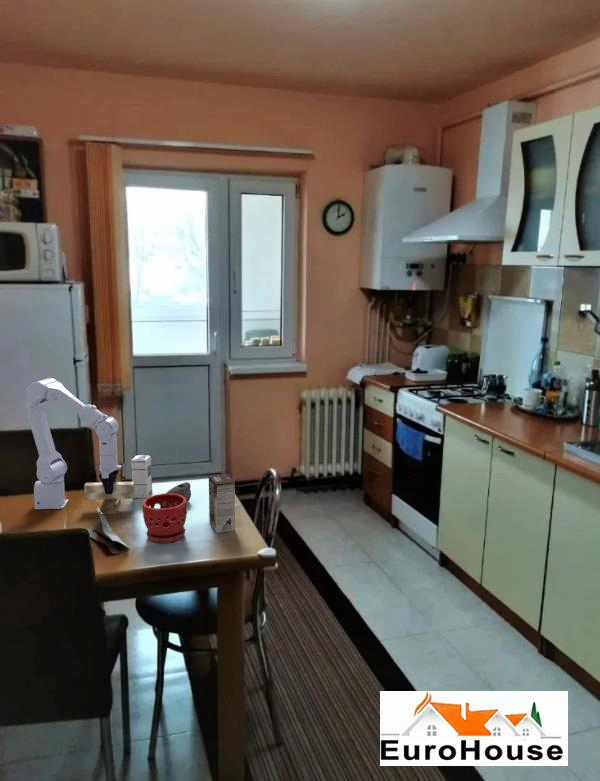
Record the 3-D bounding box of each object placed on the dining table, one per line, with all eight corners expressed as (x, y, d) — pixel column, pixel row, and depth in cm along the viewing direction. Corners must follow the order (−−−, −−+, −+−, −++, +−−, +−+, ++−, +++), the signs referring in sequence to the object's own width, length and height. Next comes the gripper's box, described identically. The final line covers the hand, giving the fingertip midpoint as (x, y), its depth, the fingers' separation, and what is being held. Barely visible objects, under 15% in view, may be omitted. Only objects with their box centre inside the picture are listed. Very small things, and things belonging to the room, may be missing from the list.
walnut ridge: (100, 514, 205) (99, 502, 204) (105, 503, 215) (105, 492, 214) (115, 513, 206) (115, 502, 205) (120, 503, 215) (120, 492, 215)
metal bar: (84, 499, 207) (84, 485, 206) (86, 496, 210) (86, 482, 209) (133, 498, 209) (132, 484, 208) (134, 495, 212) (134, 481, 211)
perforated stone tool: (166, 514, 206) (166, 494, 205) (155, 511, 209) (154, 491, 208) (195, 501, 219) (195, 482, 218) (184, 498, 221) (184, 480, 220)
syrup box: (148, 498, 221) (147, 459, 219) (132, 497, 221) (130, 459, 219) (152, 492, 227) (151, 455, 224) (136, 492, 227) (135, 454, 224)
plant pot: (142, 531, 192) (141, 494, 190) (185, 527, 195) (184, 491, 193) (144, 548, 179) (142, 509, 177) (189, 543, 183) (188, 505, 181)
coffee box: (208, 522, 199) (207, 475, 196) (227, 520, 201) (227, 473, 199) (215, 533, 191) (214, 483, 188) (235, 530, 193) (235, 481, 190)
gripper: (116, 459, 200) (118, 499, 203) (124, 447, 214) (125, 485, 217) (94, 459, 199) (96, 499, 202) (103, 448, 214) (104, 485, 216)
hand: (110, 492), depth 209 cm, fingers closed on metal bar, 3 cm apart
